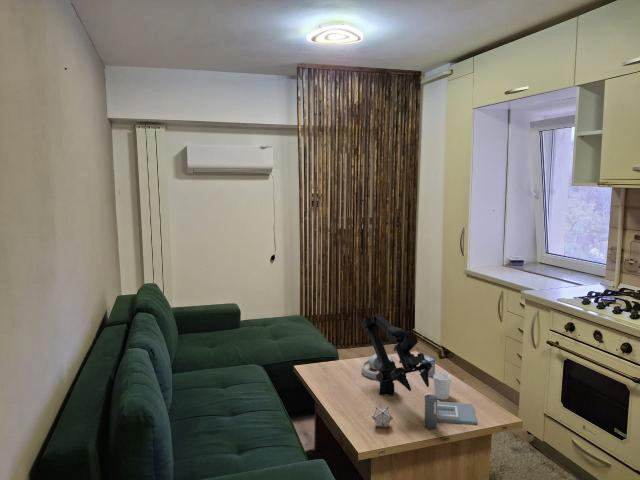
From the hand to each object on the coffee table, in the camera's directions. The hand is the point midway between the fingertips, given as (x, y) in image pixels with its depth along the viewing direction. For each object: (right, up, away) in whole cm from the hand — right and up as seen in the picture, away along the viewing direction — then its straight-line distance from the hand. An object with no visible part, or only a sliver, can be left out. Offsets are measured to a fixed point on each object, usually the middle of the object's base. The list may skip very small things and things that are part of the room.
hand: (419, 388), depth 202 cm
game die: (-17, -15, -5) cm, 23 cm away
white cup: (+15, -11, +21) cm, 28 cm away
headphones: (-11, -8, +50) cm, 52 cm away
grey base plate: (+16, -13, +5) cm, 21 cm away
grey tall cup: (+4, -14, -6) cm, 16 cm away
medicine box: (+14, -7, +48) cm, 50 cm away
